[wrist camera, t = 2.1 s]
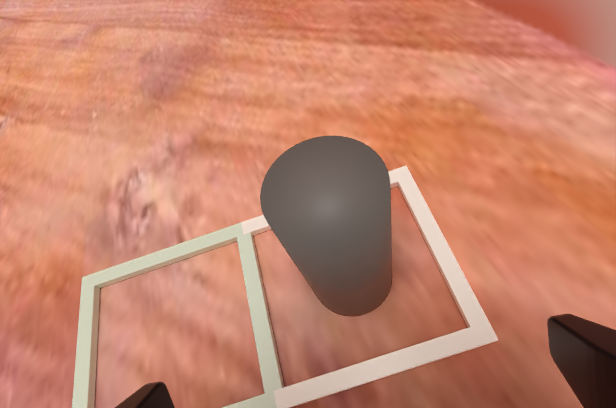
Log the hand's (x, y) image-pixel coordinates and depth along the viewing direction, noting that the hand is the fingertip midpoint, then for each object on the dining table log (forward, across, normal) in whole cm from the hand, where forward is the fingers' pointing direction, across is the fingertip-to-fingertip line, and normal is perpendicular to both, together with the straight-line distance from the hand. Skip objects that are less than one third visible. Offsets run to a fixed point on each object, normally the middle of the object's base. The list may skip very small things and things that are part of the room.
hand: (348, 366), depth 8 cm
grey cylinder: (+14, 0, +4) cm, 15 cm away
